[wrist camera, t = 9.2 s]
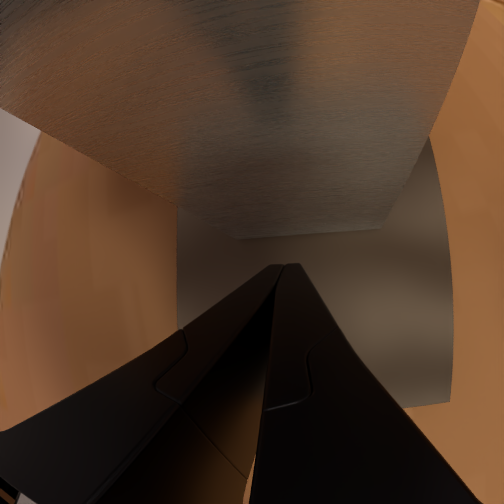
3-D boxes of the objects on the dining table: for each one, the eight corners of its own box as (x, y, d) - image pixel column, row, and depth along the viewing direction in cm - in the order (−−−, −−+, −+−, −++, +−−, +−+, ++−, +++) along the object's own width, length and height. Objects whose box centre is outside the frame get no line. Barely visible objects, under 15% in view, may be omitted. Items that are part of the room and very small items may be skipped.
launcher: (443, 395, 13) (527, 480, 4) (191, 398, 17) (72, 461, 8) (369, -6, 18) (361, -104, 8) (200, 19, 21) (147, -63, 12)
